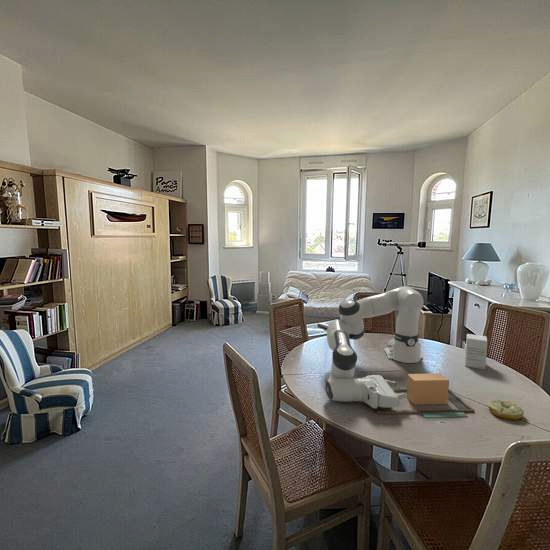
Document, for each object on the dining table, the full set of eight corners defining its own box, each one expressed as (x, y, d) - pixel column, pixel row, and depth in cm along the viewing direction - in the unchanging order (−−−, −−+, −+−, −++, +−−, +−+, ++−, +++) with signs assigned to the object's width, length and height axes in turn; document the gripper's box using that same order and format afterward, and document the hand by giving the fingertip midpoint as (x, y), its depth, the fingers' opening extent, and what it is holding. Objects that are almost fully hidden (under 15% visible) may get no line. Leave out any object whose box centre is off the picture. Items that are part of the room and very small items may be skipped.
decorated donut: (481, 406, 126) (482, 397, 125) (510, 406, 125) (510, 397, 125) (499, 421, 116) (499, 411, 115) (529, 422, 115) (530, 412, 115)
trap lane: (361, 387, 141) (361, 386, 141) (444, 386, 142) (444, 384, 142) (380, 418, 117) (380, 416, 117) (479, 416, 118) (479, 414, 118)
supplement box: (464, 360, 172) (466, 333, 170) (484, 363, 167) (486, 335, 165) (464, 366, 164) (466, 338, 162) (485, 369, 159) (487, 340, 158)
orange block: (406, 396, 133) (407, 374, 132) (439, 396, 134) (440, 373, 132) (413, 404, 127) (414, 380, 126) (447, 403, 128) (449, 380, 126)
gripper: (359, 384, 139) (390, 384, 139) (374, 410, 119) (411, 410, 119) (359, 371, 138) (391, 370, 138) (375, 394, 118) (412, 394, 118)
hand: (400, 389), depth 129 cm, fingers open, 8 cm apart
